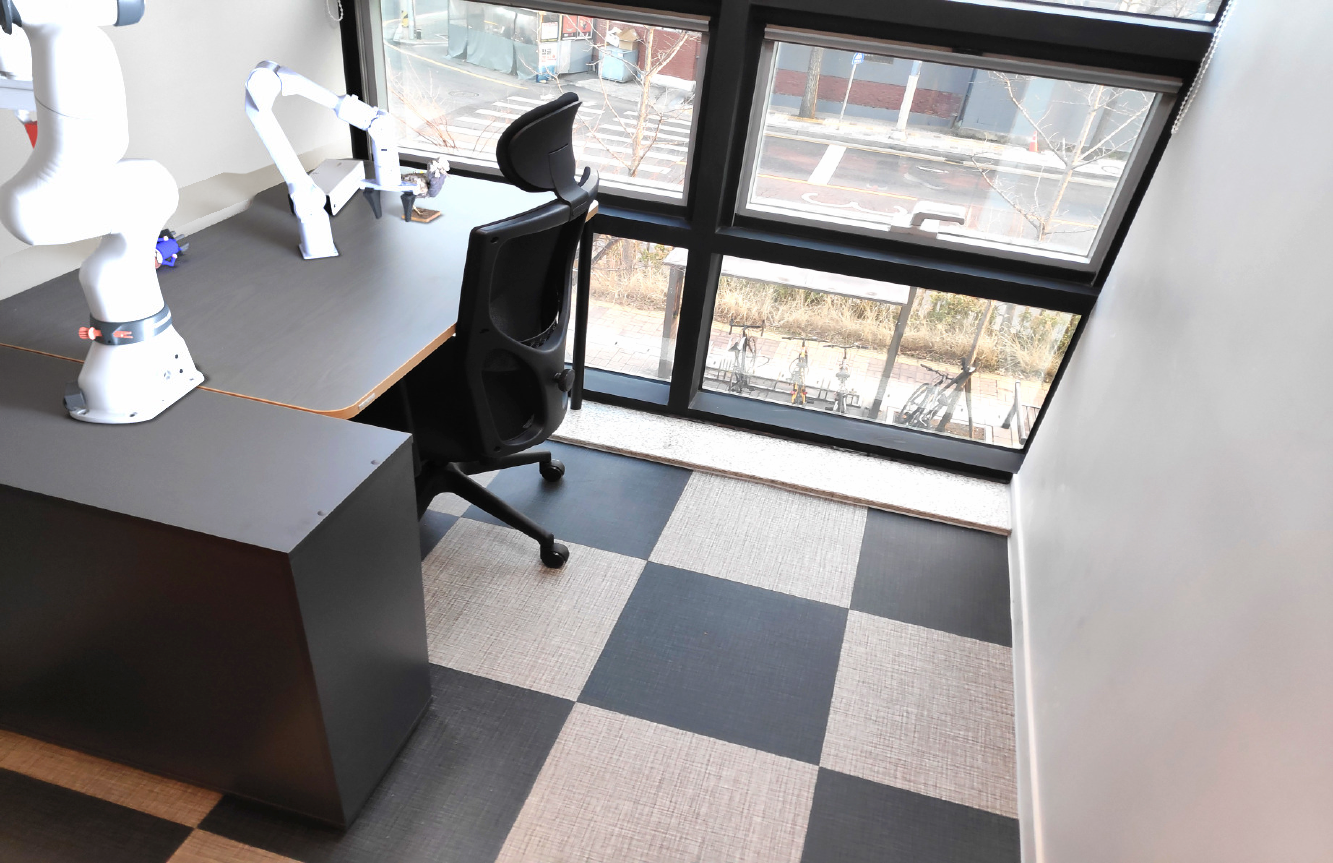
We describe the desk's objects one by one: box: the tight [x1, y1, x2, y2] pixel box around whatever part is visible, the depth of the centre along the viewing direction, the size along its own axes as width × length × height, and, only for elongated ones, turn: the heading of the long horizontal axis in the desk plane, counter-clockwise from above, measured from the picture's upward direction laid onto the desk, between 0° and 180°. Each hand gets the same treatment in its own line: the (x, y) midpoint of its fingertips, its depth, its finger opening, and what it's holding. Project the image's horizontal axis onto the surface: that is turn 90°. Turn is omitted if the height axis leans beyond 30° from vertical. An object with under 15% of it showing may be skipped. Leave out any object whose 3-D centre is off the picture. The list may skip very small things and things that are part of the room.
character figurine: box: [154, 227, 190, 270], centre depth 191 cm, size 8×7×15 cm
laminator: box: [287, 158, 366, 217], centre depth 238 cm, size 34×12×6 cm, turn 2°
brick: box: [23, 120, 38, 150], centre depth 158 cm, size 4×4×5 cm
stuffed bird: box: [400, 156, 454, 223], centre depth 226 cm, size 10×20×17 cm, turn 93°
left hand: (47, 135), depth 158 cm, fingers closed on brick, 4 cm apart
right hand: (393, 219), depth 205 cm, fingers open, 7 cm apart
